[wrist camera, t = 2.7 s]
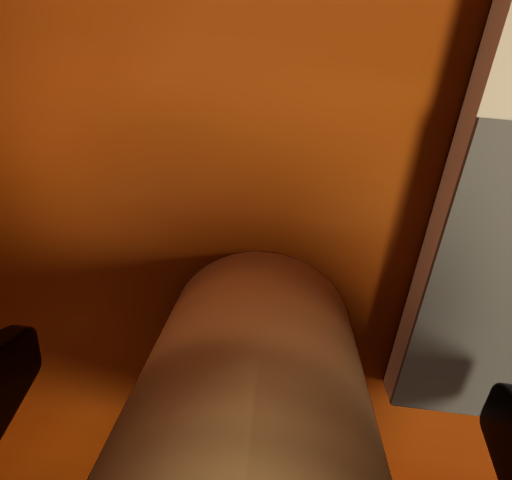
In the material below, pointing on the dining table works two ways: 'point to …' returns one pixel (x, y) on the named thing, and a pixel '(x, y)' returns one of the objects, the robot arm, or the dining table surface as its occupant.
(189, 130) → the dining table surface
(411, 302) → the cream grey flat board
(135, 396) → the oak dowel
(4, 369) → the robot arm
